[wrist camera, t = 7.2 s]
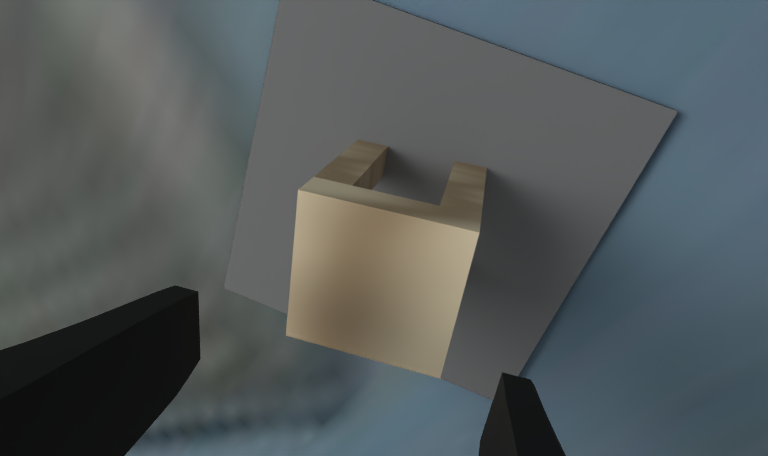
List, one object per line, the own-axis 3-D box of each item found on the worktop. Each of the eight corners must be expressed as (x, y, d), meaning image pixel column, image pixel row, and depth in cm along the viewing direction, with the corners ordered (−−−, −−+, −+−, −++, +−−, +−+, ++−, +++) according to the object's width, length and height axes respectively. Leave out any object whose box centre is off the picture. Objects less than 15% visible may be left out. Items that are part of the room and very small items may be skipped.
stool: (486, 167, 18) (479, 232, 12) (457, 281, 20) (440, 378, 15) (357, 139, 18) (297, 189, 13) (342, 252, 21) (286, 335, 15)
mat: (674, 109, 16) (677, 111, 16) (501, 397, 22) (501, 403, 22) (290, -30, 17) (285, -32, 17) (228, 283, 23) (223, 287, 23)
